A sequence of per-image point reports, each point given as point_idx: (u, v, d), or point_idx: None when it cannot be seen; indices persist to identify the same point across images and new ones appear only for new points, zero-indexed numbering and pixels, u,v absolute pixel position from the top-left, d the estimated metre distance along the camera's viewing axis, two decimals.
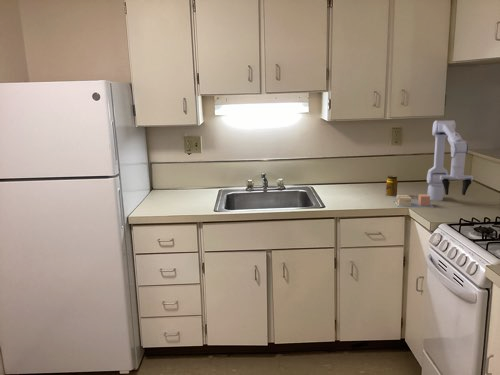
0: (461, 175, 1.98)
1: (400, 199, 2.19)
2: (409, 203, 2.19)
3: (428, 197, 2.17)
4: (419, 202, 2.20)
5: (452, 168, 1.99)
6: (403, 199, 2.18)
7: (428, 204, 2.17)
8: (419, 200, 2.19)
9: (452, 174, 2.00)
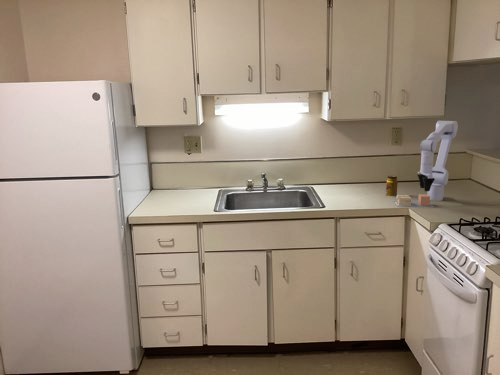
0: (421, 171, 2.15)
1: (400, 199, 2.19)
2: (409, 203, 2.19)
3: (428, 197, 2.17)
4: (419, 202, 2.20)
5: None
6: (403, 199, 2.18)
7: (428, 204, 2.17)
8: (419, 200, 2.19)
9: None
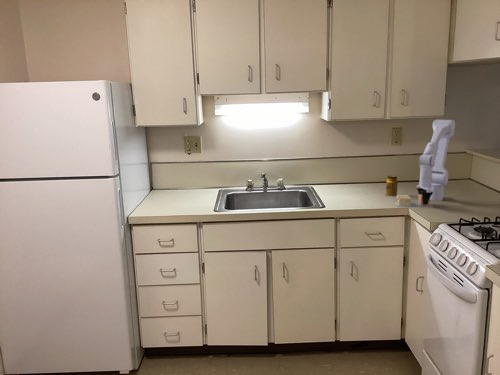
0: (420, 185, 2.17)
1: (400, 199, 2.19)
2: (409, 203, 2.19)
3: None
4: (419, 202, 2.20)
5: None
6: (403, 199, 2.18)
7: (428, 204, 2.17)
8: (419, 200, 2.19)
9: None
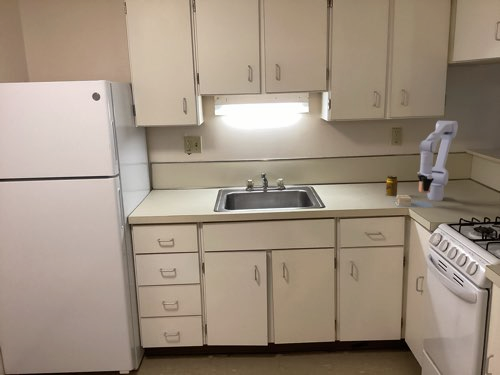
0: (421, 171, 2.15)
1: (400, 199, 2.19)
2: (409, 203, 2.19)
3: None
4: (420, 189, 2.18)
5: None
6: (403, 199, 2.18)
7: (429, 191, 2.16)
8: (420, 187, 2.18)
9: None
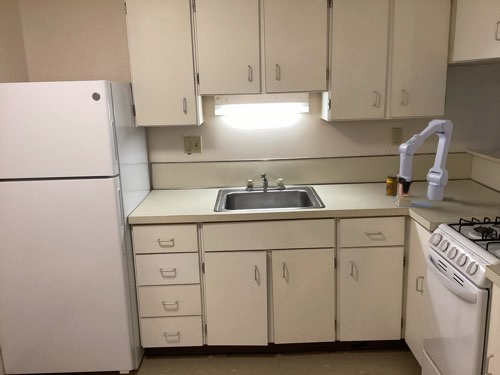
0: (400, 174, 2.18)
1: (400, 199, 2.19)
2: (409, 203, 2.19)
3: None
4: (400, 191, 2.21)
5: None
6: (403, 199, 2.18)
7: (409, 194, 2.18)
8: (400, 190, 2.20)
9: None
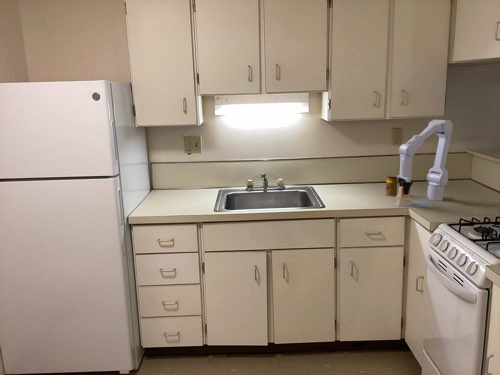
0: (400, 174, 2.18)
1: (400, 199, 2.19)
2: (409, 203, 2.19)
3: None
4: (400, 194, 2.21)
5: None
6: (403, 199, 2.18)
7: (409, 196, 2.19)
8: (400, 192, 2.21)
9: None
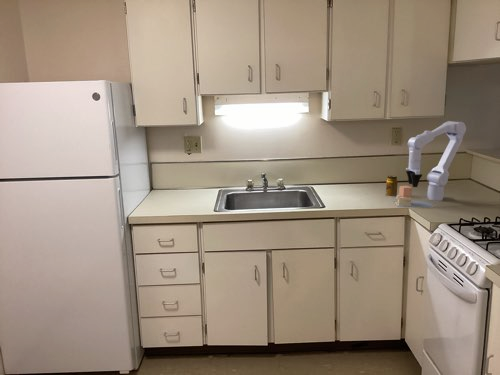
0: (409, 167, 2.22)
1: (400, 199, 2.19)
2: (409, 203, 2.19)
3: (410, 188, 2.19)
4: (401, 194, 2.21)
5: None
6: (403, 199, 2.18)
7: (410, 195, 2.20)
8: (401, 192, 2.21)
9: None
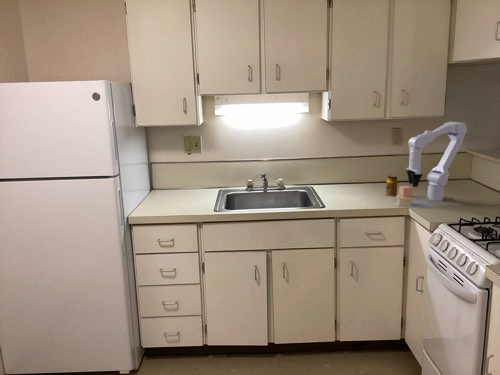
0: (410, 167, 2.22)
1: (400, 199, 2.19)
2: (409, 203, 2.19)
3: (410, 188, 2.19)
4: (401, 194, 2.21)
5: None
6: (403, 199, 2.18)
7: (410, 195, 2.20)
8: (401, 192, 2.21)
9: None
